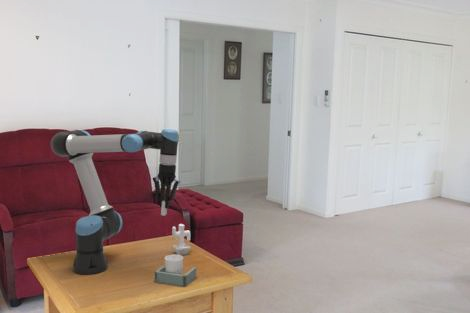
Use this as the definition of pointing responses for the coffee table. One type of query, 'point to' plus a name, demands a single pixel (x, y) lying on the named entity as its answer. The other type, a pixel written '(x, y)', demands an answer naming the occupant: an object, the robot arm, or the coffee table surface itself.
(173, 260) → the white cup
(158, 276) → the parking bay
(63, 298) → the coffee table surface
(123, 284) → the coffee table surface
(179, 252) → the figurine
